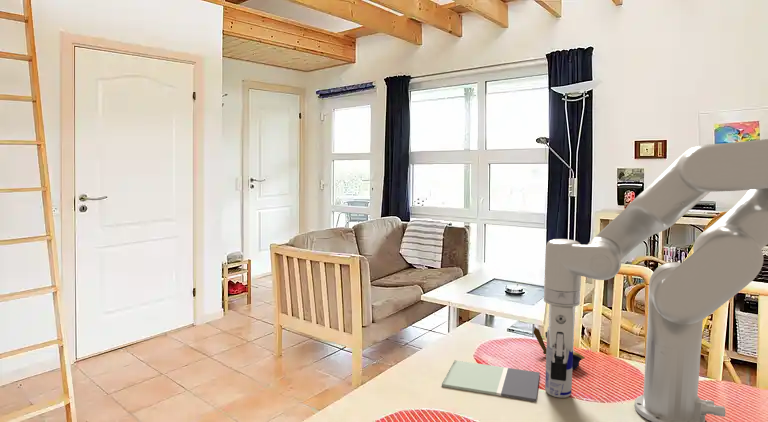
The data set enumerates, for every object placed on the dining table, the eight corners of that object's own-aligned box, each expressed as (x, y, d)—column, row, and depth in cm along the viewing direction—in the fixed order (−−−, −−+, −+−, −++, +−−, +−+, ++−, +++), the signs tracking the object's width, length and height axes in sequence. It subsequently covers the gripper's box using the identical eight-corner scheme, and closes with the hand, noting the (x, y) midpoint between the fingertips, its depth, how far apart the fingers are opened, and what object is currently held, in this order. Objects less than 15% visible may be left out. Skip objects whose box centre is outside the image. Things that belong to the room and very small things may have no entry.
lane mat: (539, 374, 120) (539, 372, 119) (536, 401, 106) (536, 399, 106) (454, 362, 127) (454, 360, 127) (441, 386, 114) (441, 383, 114)
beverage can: (573, 400, 107) (576, 334, 105) (546, 398, 108) (549, 332, 106) (568, 388, 112) (571, 325, 111) (543, 386, 114) (545, 323, 112)
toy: (565, 327, 136) (590, 350, 121) (562, 348, 137) (586, 374, 122) (532, 325, 135) (553, 348, 120) (529, 347, 136) (550, 372, 121)
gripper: (581, 308, 99) (577, 394, 101) (579, 287, 115) (575, 361, 117) (542, 304, 101) (538, 388, 103) (545, 284, 117) (542, 357, 119)
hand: (558, 373), depth 110 cm, fingers closed on beverage can, 5 cm apart
